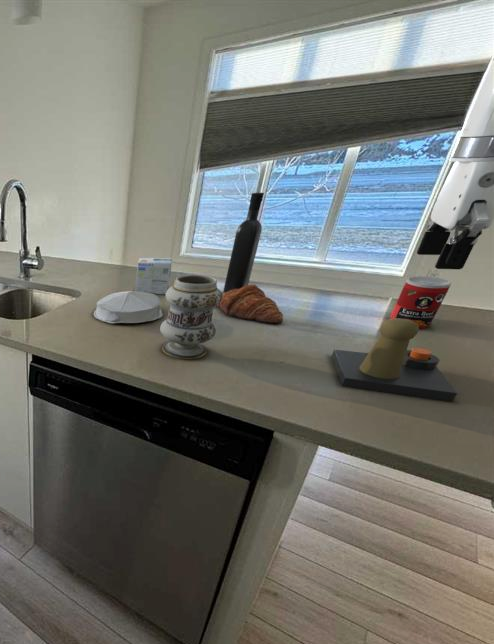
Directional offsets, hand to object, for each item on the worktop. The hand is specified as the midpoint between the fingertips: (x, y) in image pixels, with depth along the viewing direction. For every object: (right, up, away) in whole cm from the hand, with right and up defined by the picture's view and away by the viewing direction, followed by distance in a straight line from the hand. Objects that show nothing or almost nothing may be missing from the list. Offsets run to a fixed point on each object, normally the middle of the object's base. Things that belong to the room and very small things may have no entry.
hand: (437, 261), depth 70 cm
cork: (+1, -19, +11) cm, 22 cm away
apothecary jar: (-30, -13, +30) cm, 44 cm away
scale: (+3, -20, +13) cm, 24 cm away
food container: (-35, 0, +54) cm, 64 cm away
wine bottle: (+2, +8, +61) cm, 61 cm away
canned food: (+29, -6, +33) cm, 44 cm away
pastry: (-3, -1, +47) cm, 47 cm away
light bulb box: (-21, +11, +70) cm, 74 cm away
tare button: (+10, -16, +12) cm, 22 cm away
